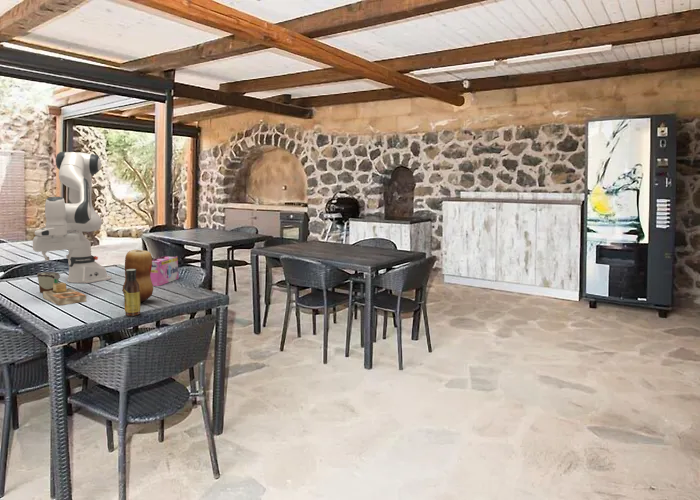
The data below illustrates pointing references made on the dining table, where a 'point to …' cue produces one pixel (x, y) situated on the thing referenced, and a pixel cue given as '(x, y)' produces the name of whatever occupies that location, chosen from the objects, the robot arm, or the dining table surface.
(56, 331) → the dining table surface
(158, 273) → the gum box
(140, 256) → the butternut squash
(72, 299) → the rail
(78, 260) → the robot arm
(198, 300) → the dining table surface
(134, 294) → the sauce bottle
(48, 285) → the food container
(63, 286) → the brass peg
